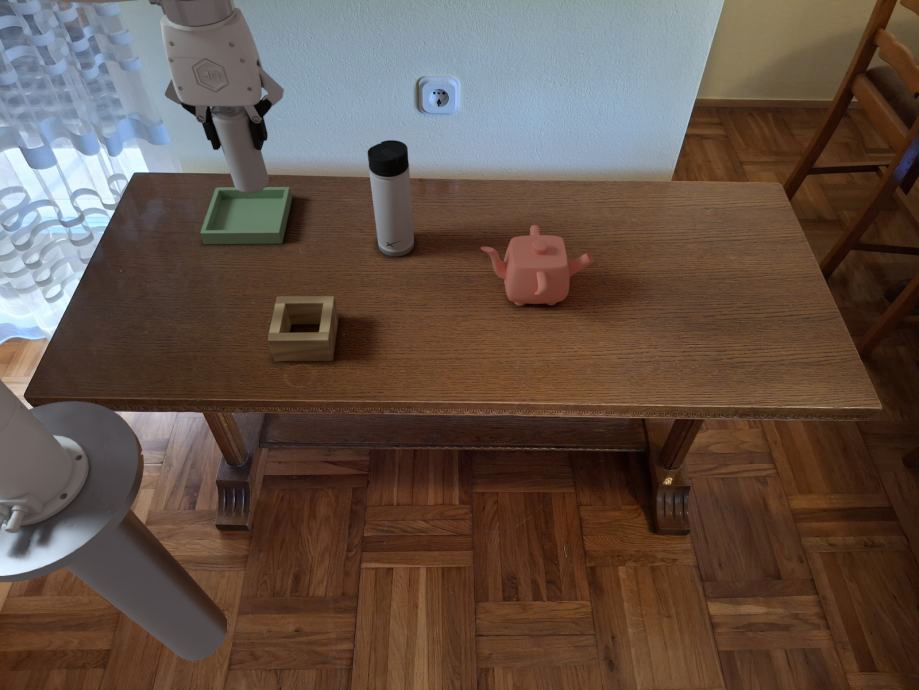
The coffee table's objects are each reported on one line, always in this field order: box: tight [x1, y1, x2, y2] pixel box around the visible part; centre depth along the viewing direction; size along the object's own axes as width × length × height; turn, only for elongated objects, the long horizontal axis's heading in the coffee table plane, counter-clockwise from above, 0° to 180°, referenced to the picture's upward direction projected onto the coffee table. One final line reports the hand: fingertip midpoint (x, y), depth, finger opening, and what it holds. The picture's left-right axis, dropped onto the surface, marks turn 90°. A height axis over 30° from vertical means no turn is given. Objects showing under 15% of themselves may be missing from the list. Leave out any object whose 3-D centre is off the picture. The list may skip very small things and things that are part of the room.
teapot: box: [480, 224, 595, 306], centre depth 104 cm, size 14×12×10 cm
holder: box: [267, 295, 339, 362], centre depth 99 cm, size 9×9×5 cm
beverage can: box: [211, 106, 270, 194], centre depth 88 cm, size 5×5×12 cm
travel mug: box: [367, 139, 415, 257], centre depth 107 cm, size 6×7×20 cm
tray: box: [200, 186, 293, 245], centre depth 118 cm, size 13×14×3 cm
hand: (239, 142), depth 87 cm, fingers closed on beverage can, 4 cm apart
